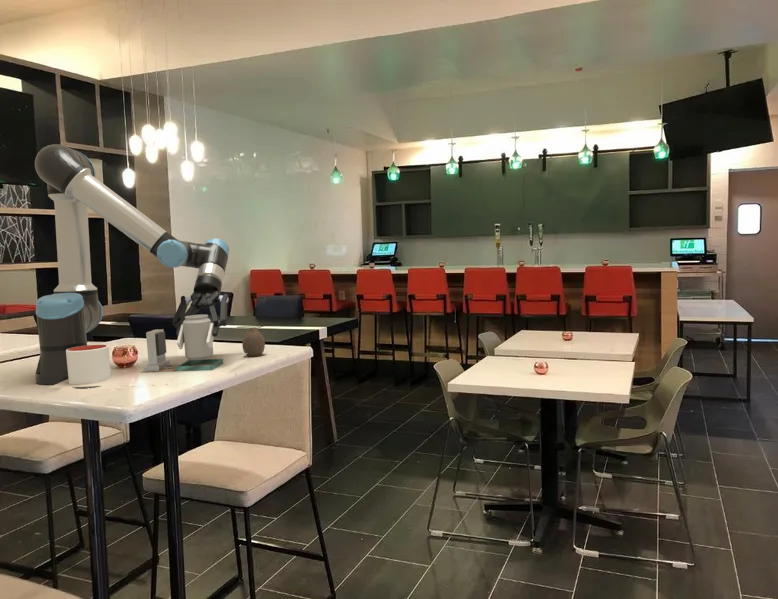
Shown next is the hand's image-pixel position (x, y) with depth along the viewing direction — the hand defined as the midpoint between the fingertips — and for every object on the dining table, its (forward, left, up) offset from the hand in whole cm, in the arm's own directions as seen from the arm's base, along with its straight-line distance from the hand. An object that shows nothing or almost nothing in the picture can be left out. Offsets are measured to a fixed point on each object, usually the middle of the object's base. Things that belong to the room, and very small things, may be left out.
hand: (194, 345), depth 170 cm
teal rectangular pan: (-5, +3, -8) cm, 10 cm away
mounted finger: (-12, +3, -7) cm, 14 cm away
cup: (-25, -9, -8) cm, 28 cm away
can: (0, +3, -4) cm, 6 cm away
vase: (+9, +27, -8) cm, 30 cm away
